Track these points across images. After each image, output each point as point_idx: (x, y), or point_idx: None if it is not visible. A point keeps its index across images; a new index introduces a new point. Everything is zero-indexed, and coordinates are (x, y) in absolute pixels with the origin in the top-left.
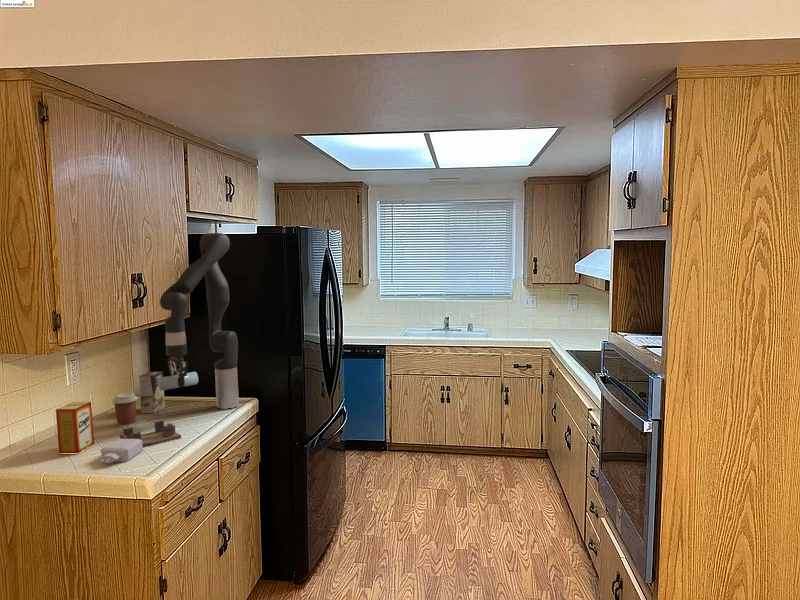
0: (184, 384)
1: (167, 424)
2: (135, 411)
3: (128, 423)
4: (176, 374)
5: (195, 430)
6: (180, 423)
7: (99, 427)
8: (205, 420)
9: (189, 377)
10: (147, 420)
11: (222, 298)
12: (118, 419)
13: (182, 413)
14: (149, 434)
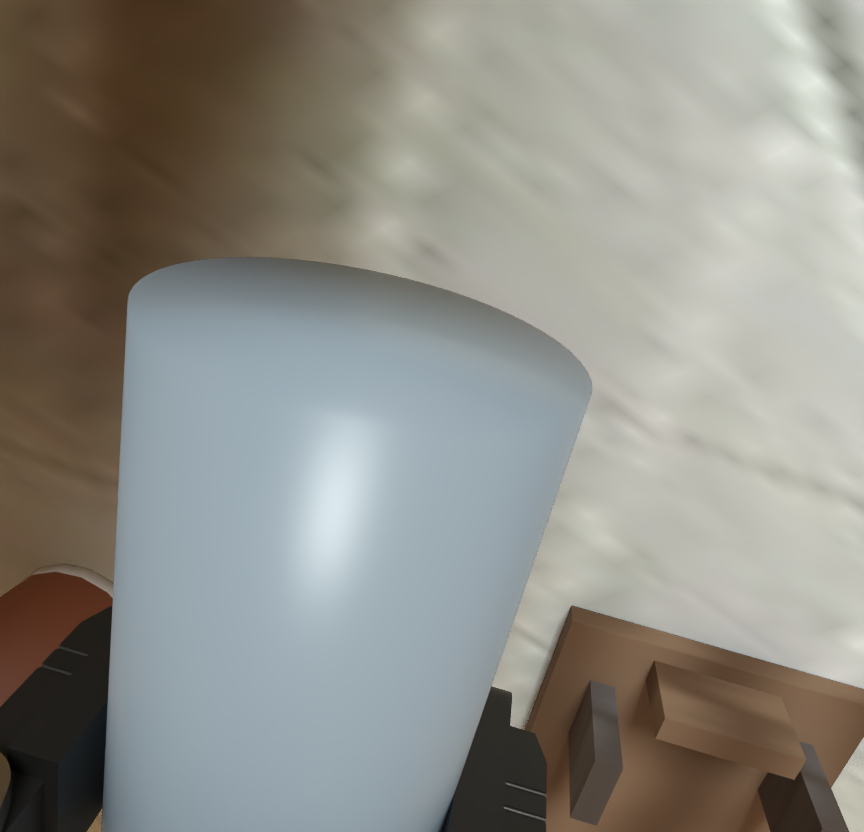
0: (508, 715)
1: (663, 734)
2: (47, 653)
3: None
4: (26, 821)
5: (824, 494)
6: None
7: None
8: (635, 190)
9: (481, 683)
10: (99, 483)
11: None
12: None
13: (132, 141)
14: (568, 776)
